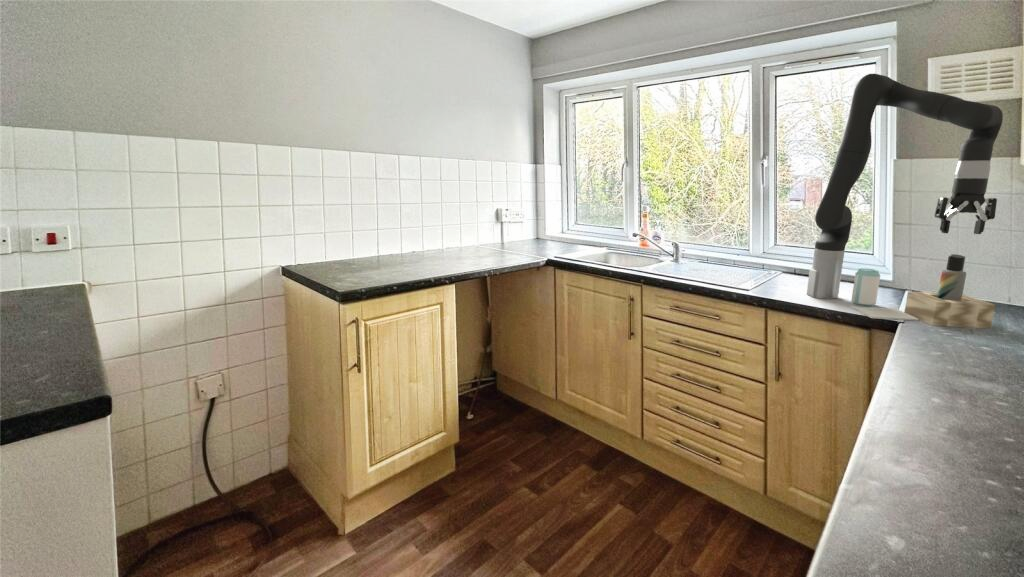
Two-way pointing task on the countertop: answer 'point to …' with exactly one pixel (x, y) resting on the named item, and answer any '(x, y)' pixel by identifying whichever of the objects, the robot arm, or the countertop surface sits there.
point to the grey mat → (885, 313)
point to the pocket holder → (949, 310)
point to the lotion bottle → (952, 279)
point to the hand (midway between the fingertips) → (961, 233)
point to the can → (865, 287)
